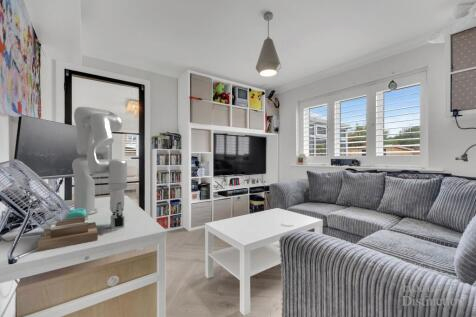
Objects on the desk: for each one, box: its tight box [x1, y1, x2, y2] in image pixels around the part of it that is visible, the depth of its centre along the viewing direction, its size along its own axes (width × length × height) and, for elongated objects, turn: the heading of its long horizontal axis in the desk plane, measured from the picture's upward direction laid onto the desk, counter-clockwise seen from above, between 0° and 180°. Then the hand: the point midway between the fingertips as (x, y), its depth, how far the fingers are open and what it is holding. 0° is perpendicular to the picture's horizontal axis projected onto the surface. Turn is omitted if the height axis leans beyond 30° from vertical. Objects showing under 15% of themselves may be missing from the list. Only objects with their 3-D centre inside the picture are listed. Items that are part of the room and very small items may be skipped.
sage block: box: [110, 214, 125, 230], centre depth 99 cm, size 5×5×5 cm
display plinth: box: [37, 215, 99, 252], centre depth 84 cm, size 16×17×7 cm
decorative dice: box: [65, 208, 87, 219], centre depth 96 cm, size 8×8×8 cm
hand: (117, 223), depth 99 cm, fingers open, 8 cm apart
